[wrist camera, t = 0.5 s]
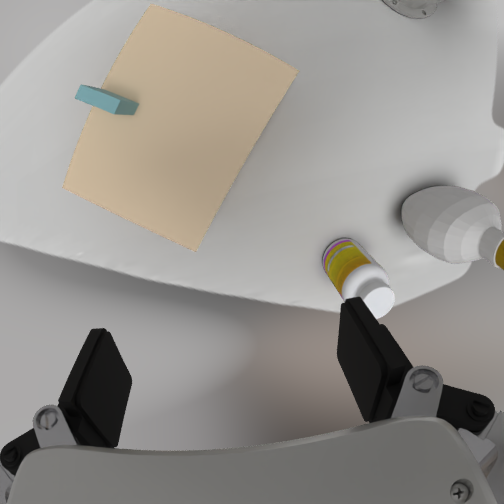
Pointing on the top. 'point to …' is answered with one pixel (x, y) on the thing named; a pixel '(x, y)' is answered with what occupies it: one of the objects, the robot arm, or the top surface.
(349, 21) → the top surface
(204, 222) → the lid
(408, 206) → the soap bottle
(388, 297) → the supplement bottle
